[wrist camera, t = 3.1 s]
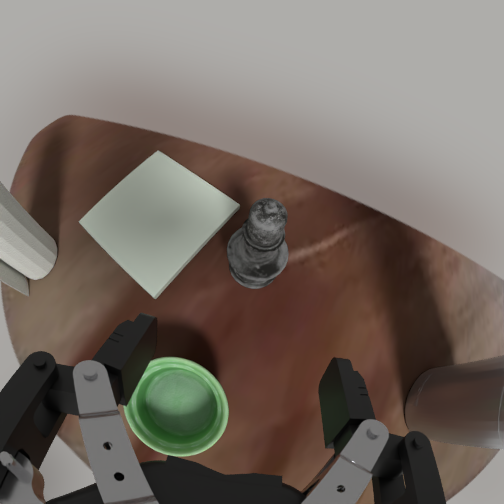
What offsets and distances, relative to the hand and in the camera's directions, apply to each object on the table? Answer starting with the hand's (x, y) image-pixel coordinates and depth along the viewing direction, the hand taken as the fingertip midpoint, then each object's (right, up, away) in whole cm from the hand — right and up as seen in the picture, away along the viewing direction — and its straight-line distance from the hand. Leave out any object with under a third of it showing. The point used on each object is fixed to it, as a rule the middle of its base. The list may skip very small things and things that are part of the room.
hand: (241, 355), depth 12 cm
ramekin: (-6, -10, +12) cm, 17 cm away
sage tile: (-11, +9, +19) cm, 24 cm away
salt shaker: (+1, +3, +18) cm, 19 cm away
